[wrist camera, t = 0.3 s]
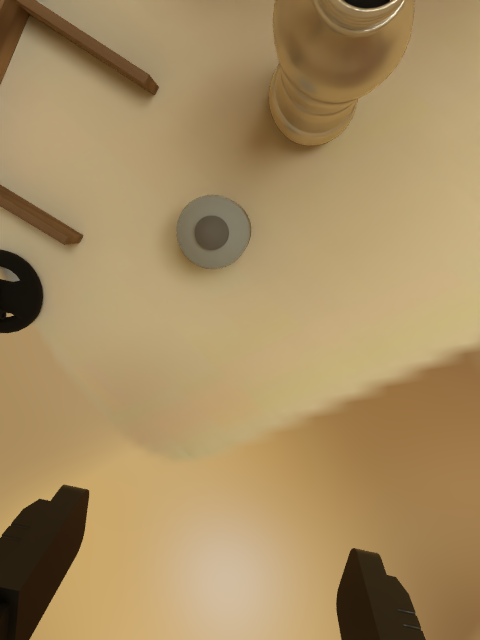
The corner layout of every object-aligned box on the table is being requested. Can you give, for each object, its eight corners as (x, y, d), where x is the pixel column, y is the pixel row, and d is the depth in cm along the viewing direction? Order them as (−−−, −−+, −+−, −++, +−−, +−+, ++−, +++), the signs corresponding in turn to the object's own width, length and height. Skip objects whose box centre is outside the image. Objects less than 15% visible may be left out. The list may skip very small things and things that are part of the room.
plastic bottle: (275, 158, 35) (290, 81, 15) (261, 67, 33) (258, -145, 14) (355, 142, 34) (476, 41, 15) (344, 49, 33) (464, -200, 13)
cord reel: (210, 186, 36) (198, 179, 29) (262, 220, 36) (262, 220, 29) (179, 240, 37) (161, 245, 30) (230, 272, 37) (223, 283, 31)
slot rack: (79, -134, 31) (54, -181, 27) (221, -37, 32) (215, -70, 28) (-44, 167, 36) (-79, 161, 33) (79, 242, 37) (59, 245, 33)
